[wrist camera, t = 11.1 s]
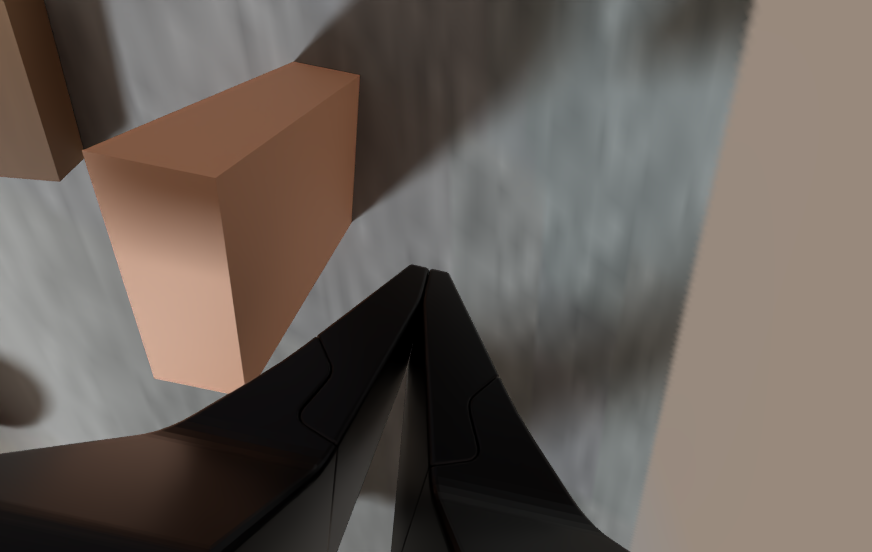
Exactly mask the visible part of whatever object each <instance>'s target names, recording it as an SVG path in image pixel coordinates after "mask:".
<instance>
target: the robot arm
mask: <svg viewBox="0 0 872 552" xmlns="http://www.w3.org/2000/svg"><path fill="white" fill-rule="evenodd" d="M428 273H429V274H428ZM412 344H413V345H412ZM410 353H411V354H410ZM409 357H410V359H409ZM408 361H409V364H408ZM407 365H408V371H407V381H406V392H405V403H404V414H403V425H402V436H401V447H400V458H399V469H398V480H397V491H396V502H395V513H394V524H393V535H392V546H391V552H630V551H628V550H627V549H625V548H624V547H622V546H621V545H619V544H618V543H616V542H615V541H613V540H612V539H610V538H609V537H607V536H606V535H605V534H603V533H602V532H601V531H600V530H599V529H598V528H596V527H595V526H594V525H593V523H592V522H591V521H590V520H589V519H588V518H587V517H586V516H585V515H584V513H583V512H582V511H581V510H580V508H579V507H578V506H577V504H576V503H575V501H574V500H573V499H572V497H571V496H570V494H569V493H568V491H567V490H566V488H565V486H564V485H563V483H562V482H561V480H560V479H559V477H558V476H557V474H556V473H555V471H554V469H553V468H552V466H551V465H550V463H549V462H548V460H547V459H546V457H545V456H544V454H543V453H542V451H541V449H540V448H539V446H538V445H537V443H536V442H535V440H534V439H533V437H532V435H531V434H530V432H529V431H528V429H527V427H526V426H525V424H524V422H523V421H522V419H521V417H520V416H519V414H518V412H517V410H516V409H515V407H514V405H513V403H512V401H511V399H510V397H509V395H508V393H507V392H506V390H505V387H504V385H503V383H502V381H501V379H500V378H498V377H499V376H498V373H497V371H496V369H495V367H494V365H493V363H492V361H491V359H490V357H489V355H488V353H487V351H486V349H485V347H484V345H483V343H482V340H481V338H480V336H479V334H478V332H477V330H476V328H475V326H474V324H473V322H472V320H471V318H470V316H469V314H468V312H467V310H466V308H465V306H464V304H463V301H462V299H461V297H460V295H459V293H458V291H457V289H456V287H455V285H454V283H453V281H452V279H451V277H450V275H449V273H447V272H444V271H439V270H435V269H431V270H430V271H429V270H428V268H426V267H421V266H417V265H409V266H408V267H407V268H405V269H404V270H403V271H401V272H400V273H399V274H397V275H396V276H395V277H393V278H392V279H391V280H390V281H388V282H387V283H386V284H384V285H383V286H382V287H380V288H379V289H378V290H376V291H375V292H374V293H372V294H371V295H370V296H369V297H367V298H366V299H365V300H363V301H362V302H361V303H359V304H358V305H357V306H355V307H354V308H353V309H352V310H350V311H349V312H348V313H346V314H345V315H344V316H342V317H341V318H340V319H338V320H337V321H336V322H334V323H333V324H332V325H331V326H329V327H328V328H327V329H325V330H324V331H323V332H321V333H320V334H319V335H318V336H317V337H315V338H313V339H312V340H311V341H309V342H308V343H307V344H305V345H304V346H303V347H301V348H300V349H299V350H297V351H296V352H294V353H293V354H291V355H290V356H289V357H287V358H286V359H284V360H283V361H282V362H280V363H278V364H277V365H275V366H274V367H272V368H270V369H269V370H267V371H266V372H264V373H262V374H261V375H259V376H258V377H256V378H254V379H253V380H251V381H249V382H248V383H246V384H244V385H242V386H241V387H239V388H237V389H236V390H234V391H232V392H231V393H229V394H227V395H226V396H224V397H222V398H221V399H219V400H217V401H215V402H214V403H212V404H210V405H209V406H207V407H205V408H204V409H202V410H200V411H199V412H197V413H195V414H193V415H192V416H190V417H188V418H186V419H184V420H182V421H180V422H178V423H176V424H174V425H171V426H169V427H166V428H163V429H161V430H158V431H154V432H150V433H146V434H141V435H134V436H127V437H119V438H112V439H105V440H97V441H90V442H83V443H75V444H68V445H60V446H53V447H46V448H38V449H31V450H24V451H16V452H9V453H1V454H0V552H337V550H338V548H339V545H340V543H341V540H342V537H343V535H344V532H345V529H346V527H347V524H348V521H349V519H350V516H351V514H352V511H353V508H354V506H355V503H356V500H357V498H358V495H359V492H360V490H361V487H362V485H363V482H364V479H365V477H366V474H367V471H368V469H369V466H370V463H371V461H372V458H373V455H374V453H375V450H376V448H377V445H378V442H379V440H380V437H381V434H382V432H383V429H384V426H385V424H386V421H387V419H388V416H389V413H390V411H391V408H392V405H393V403H394V400H395V397H396V395H397V392H398V390H399V387H400V384H401V382H402V379H403V376H404V374H405V371H406V368H407Z"/></svg>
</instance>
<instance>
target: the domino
mask: <svg viewBox="0 0 872 552" xmlns="http://www.w3.org/2000/svg"><path fill="white" fill-rule="evenodd" d="M82 150H83V146H82V142H81V139H80V135H79V131H78V127H77V124H76V120H75V116H74V112H73V109H72V105H71V101H70V97H69V93H68V90H67V86H66V82H65V78H64V75H63V71H62V67H61V63H60V60H59V56H58V52H57V48H56V45H55V41H54V37H53V33H52V29H51V26H50V22H49V18H48V14H47V11H46V7H45V3H44V0H0V177H10V178H22V179H34V180H46V181H58V182H60V181H61V180H62V179H63V178H64V177H65V176H66V175H67V174H68V173H69V172H70V171H71V170H72V169H73V168H75V167H76V166H77V165H78V164H79V163H80V162H81V161H82V160H83V159H84V156H83V153H82Z"/></svg>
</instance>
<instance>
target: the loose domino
mask: <svg viewBox="0 0 872 552" xmlns="http://www.w3.org/2000/svg"><path fill="white" fill-rule="evenodd" d="M359 83H360V75H357V74H352V73H347V72H343V71H338V70H333V69H328V68H323V67H318V66H313V65H308V64H303V63H298V62H292V63H289V64H287V65H284V66H282V67H280V68H277V69H275V70H273V71H270V72H268V73H265V74H263V75H261V76H258V77H256V78H254V79H251V80H249V81H246V82H244V83H242V84H239V85H237V86H234V87H232V88H230V89H227V90H225V91H223V92H220V93H218V94H215V95H213V96H211V97H208V98H206V99H203V100H201V101H199V102H196V103H194V104H192V105H189V106H187V107H184V108H182V109H180V110H177V111H175V112H172V113H170V114H168V115H165V116H163V117H161V118H158V119H156V120H153V121H151V122H149V123H146V124H144V125H141V126H139V127H137V128H134V129H132V130H130V131H127V132H125V133H122V134H120V135H118V136H115V137H113V138H110V139H108V140H106V141H103V142H101V143H99V144H96V145H94V146H91V147H89V148H87V149H84V150H82V153H83V156H84V159H85V162H86V166H87V169H88V172H89V175H90V178H91V181H92V184H93V188H94V191H95V194H96V197H97V200H98V203H99V206H100V210H101V213H102V216H103V219H104V222H105V225H106V228H107V231H108V235H109V238H110V241H111V244H112V247H113V250H114V253H115V257H116V260H117V263H118V266H119V269H120V272H121V275H122V279H123V282H124V285H125V288H126V291H127V294H128V297H129V301H130V304H131V307H132V310H133V313H134V316H135V319H136V322H137V326H138V329H139V332H140V335H141V338H142V341H143V344H144V348H145V351H146V354H147V357H148V360H149V363H150V366H151V370H152V373H153V376H154V378H155V379H160V380H165V381H169V382H174V383H179V384H184V385H189V386H194V387H198V388H203V389H208V390H213V391H218V392H222V393H227V394H229V393H231V392H232V391H234V390H236V389H237V388H239V387H241V386H242V385H244V384H246V383H248V382H249V381H251V380H253V379H254V378H256V377H258V376H259V375H260V374H261V372H262V371H263V369H264V367H265V366H266V364H267V362H268V361H269V359H270V357H271V356H272V354H273V352H274V351H275V349H276V347H277V346H278V344H279V342H280V341H281V339H282V337H283V336H284V334H285V332H286V331H287V329H288V327H289V326H290V324H291V322H292V321H293V319H294V317H295V316H296V314H297V312H298V311H299V309H300V307H301V306H302V304H303V302H304V301H305V299H306V297H307V296H308V294H309V292H310V291H311V289H312V287H313V286H314V284H315V282H316V281H317V279H318V277H319V276H320V274H321V272H322V271H323V269H324V267H325V266H326V264H327V262H328V261H329V259H330V257H331V256H332V254H333V252H334V251H335V249H336V247H337V246H338V244H339V242H340V241H341V239H342V237H343V236H344V234H345V232H346V231H347V229H348V227H349V226H350V224H351V222H352V206H353V188H354V171H355V153H356V135H357V118H358V100H359Z"/></svg>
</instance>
